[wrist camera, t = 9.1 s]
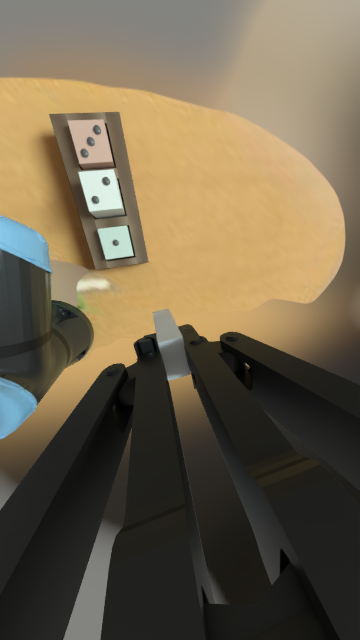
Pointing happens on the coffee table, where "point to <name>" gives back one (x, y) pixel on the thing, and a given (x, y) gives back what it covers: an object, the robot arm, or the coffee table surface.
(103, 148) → the tile three
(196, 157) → the coffee table surface
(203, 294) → the coffee table surface
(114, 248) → the tile one
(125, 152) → the board
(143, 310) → the coffee table surface
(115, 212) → the tile two
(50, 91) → the coffee table surface
